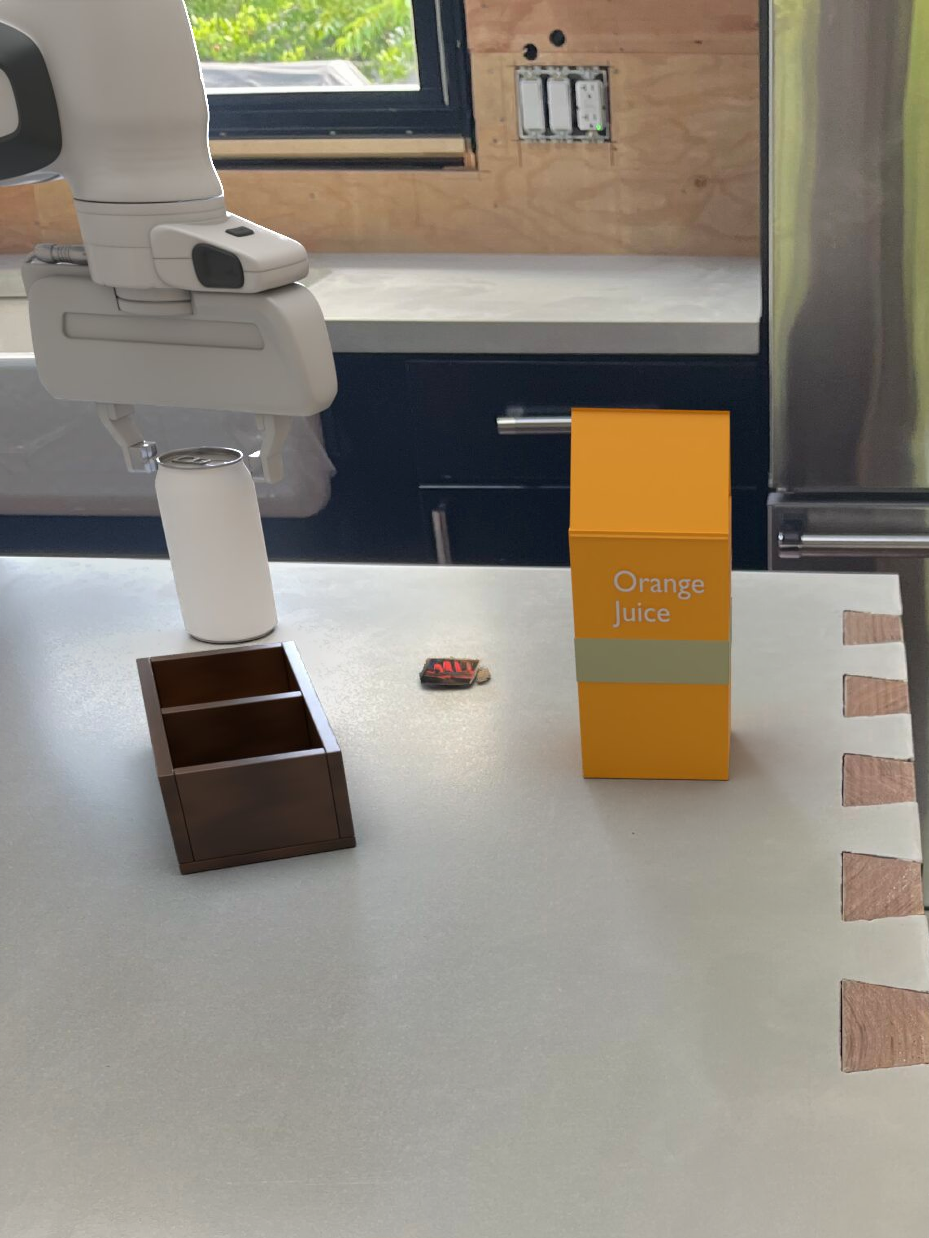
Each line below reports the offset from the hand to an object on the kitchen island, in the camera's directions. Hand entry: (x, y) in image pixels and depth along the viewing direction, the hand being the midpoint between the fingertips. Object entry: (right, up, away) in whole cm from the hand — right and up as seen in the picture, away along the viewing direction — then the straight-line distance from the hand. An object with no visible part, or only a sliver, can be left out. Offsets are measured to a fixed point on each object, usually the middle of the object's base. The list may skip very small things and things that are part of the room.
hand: (206, 476), depth 102 cm
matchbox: (+17, -14, 0) cm, 22 cm away
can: (0, -9, +6) cm, 11 cm away
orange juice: (+32, -21, -10) cm, 39 cm away
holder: (+9, -24, -16) cm, 30 cm away
